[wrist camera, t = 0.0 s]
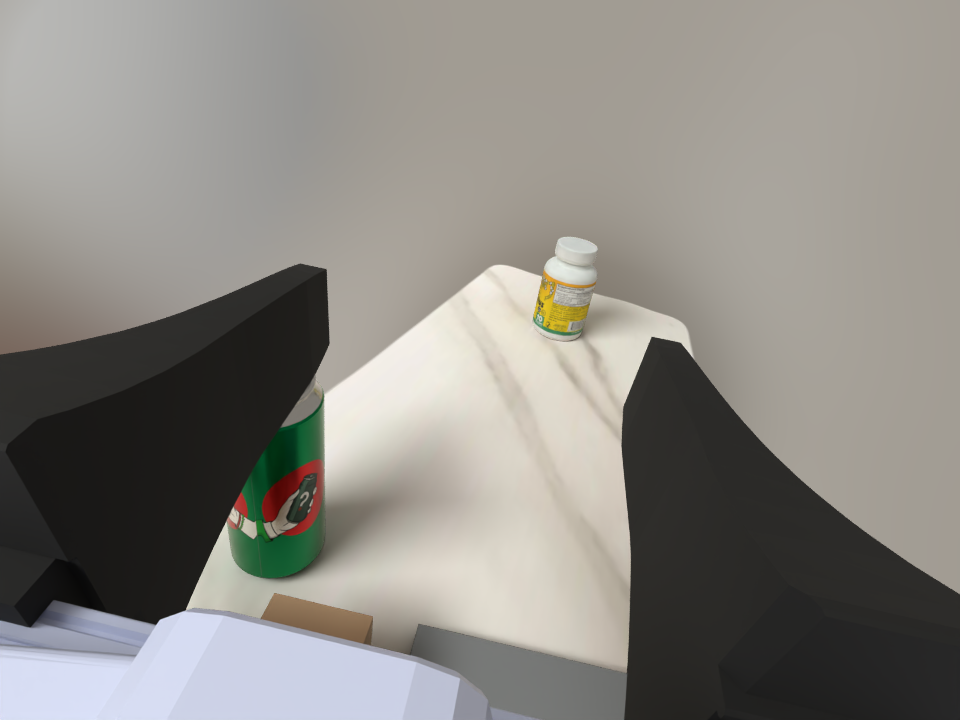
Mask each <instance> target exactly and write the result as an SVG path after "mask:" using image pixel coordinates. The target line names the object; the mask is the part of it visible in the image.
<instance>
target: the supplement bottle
mask: <svg viewBox="0 0 960 720" xmlns="http://www.w3.org/2000/svg"><path fill="white" fill-rule="evenodd" d="M597 251H598V248H597V246H596V245H594V244H593V243H591V242H589V241H587V240H584V239H580V238H575V237H562V238H560V239H559V240H558V242H557V245H556V249H555V252H556V253H555V254H556V256H555V257H553V258H551V259H549V260H548V261H547V263H546V265H545V267H544V272H543V276H542V281H541V285H540V290H539V294H538V299H537V302H536V307H535V312H534V316H533V326H534V328H535V329H536V330H537V331H538V332H539V333H540V334H541V335H543V336H545V337H547V338H550V339H553V340H558V341H570V340H574V339H576V338H578V337H579V336H580V334H581V333H582V329H583V327H584V323H585V319H586V316H587V312H588V308H589V305H590V301H591V298H592V294H593V291H594V288H595V284H596V281H597V271H596V269H595V268H594V266H593V265H592V264H593V263H594V262H595V260H596V255H597Z"/></svg>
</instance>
